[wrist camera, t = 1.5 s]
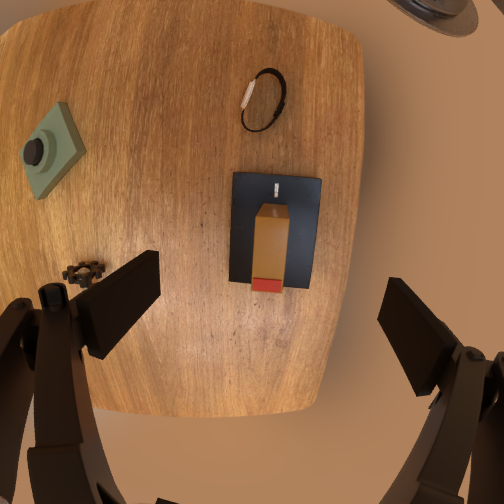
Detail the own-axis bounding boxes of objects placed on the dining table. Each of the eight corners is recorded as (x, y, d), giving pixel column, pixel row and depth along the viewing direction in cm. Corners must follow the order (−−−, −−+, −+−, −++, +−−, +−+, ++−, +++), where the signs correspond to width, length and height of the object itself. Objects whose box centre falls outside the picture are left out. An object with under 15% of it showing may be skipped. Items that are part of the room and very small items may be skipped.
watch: (255, 69, 26) (251, 58, 22) (294, 81, 26) (295, 70, 22) (232, 127, 28) (226, 122, 25) (272, 140, 28) (271, 136, 25)
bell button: (40, 135, 27) (32, 134, 25) (46, 153, 28) (38, 153, 26) (29, 150, 28) (21, 151, 26) (35, 168, 28) (26, 169, 27)
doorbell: (66, 103, 29) (49, 100, 25) (86, 151, 31) (68, 151, 27) (27, 151, 31) (11, 153, 28) (45, 198, 33) (28, 202, 30)
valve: (125, 333, 39) (113, 262, 35) (105, 356, 32) (86, 280, 29) (94, 325, 39) (80, 259, 36) (73, 346, 33) (53, 274, 29)
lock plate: (237, 171, 30) (232, 171, 27) (318, 178, 29) (322, 179, 26) (233, 271, 33) (228, 282, 30) (306, 278, 33) (309, 289, 30)
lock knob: (263, 203, 27) (255, 216, 20) (287, 205, 27) (289, 219, 19) (259, 259, 29) (250, 292, 21) (282, 261, 29) (282, 295, 21)
